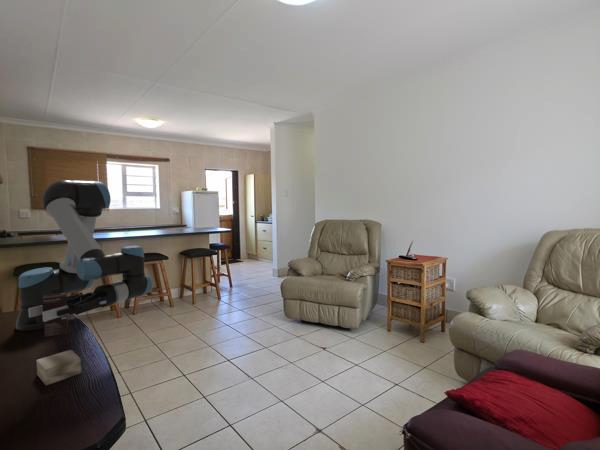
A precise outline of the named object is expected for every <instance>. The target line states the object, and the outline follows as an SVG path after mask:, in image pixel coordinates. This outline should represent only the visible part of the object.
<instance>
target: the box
mask: <svg viewBox="0 0 600 450" xmlns="http://www.w3.org/2000/svg"><path fill="white" fill-rule="evenodd" d="M67 296H68V294H67V293H66V292H65V293H56V294H49V295H43V298H42V308H43V312H44V311H48V310H52V309H55V308H59V307H62V306H66V305H67ZM68 316H69V314H68V315H65V316H61V317H58V318H55V319H52V320H48V321H45V322H44V321H43V325H44V329H43V337H44V338H47V337H51V336H53V337H54V336H57V335H65V334H68V332H69V321H68V320H69V319H68Z"/></svg>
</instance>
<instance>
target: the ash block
mask: <svg viewBox="0 0 600 450" xmlns="http://www.w3.org/2000/svg"><path fill="white" fill-rule="evenodd" d="M81 360H82V359H81V357H79V356H78V355H77V354H76V353H75V352H74V351H73V350H72V349H67V350H64V351H62V352H58V353H55V354H52V355H49V356H45V357H41V358H39V359H36V375H37V376H38V377H39V379H40V380H41V381H42V382H43V384H44V385H45V386H48V385H51V384H54V383H57V382H60V381H62V380H65V379H68V378H71V377H74V376H76V375H77V376H78V375H79V374H81V373H82V362H81Z"/></svg>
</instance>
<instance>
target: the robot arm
mask: <svg viewBox="0 0 600 450" xmlns="http://www.w3.org/2000/svg"><path fill="white" fill-rule="evenodd" d="M109 190H110V189H108V187H107V185H106V184H105V183H104V182H103V181H102V182H101V181H96V180H95V181H94V180H72V179H71V180H68V179H62V180H58V181H54V182H53V183H51V184H50V185H48V186H47V188H46V189H45V190H44V191H43V193H42V194H43V195H42V199H41V200H42V201H41V202H42V203H41V204H42V207H43V210H44V211H45V213H46V215H48V216H49V217H51V218H53V220H54V221H55V223H56V224H57V226H58V228H59V230H60V231H61V233H62V234H63V236H64V238H65V239H66V242H67V246H66V252H65V257H64V260H62V261H61V262H60V263H59V268H58V269H53V267H51V266H50V267H49V266H48V267H47V266H44V267H40V268H34V269H31V270H27V271H24V272H23V273H21V274H20V275H19V276H18V284H17V285H18V287H17V288H18V293H19V294H18V295H19V306H20V310H19V312H18V316H17V319H16V322H15V329H16V330H17V331H20V332H31V331H37V330H38V331H39V330H44V325H43V321H44V322H45V321H48V320H52V319H55V318H58V317H61V316H65V315H68V316H69V315H73V314H75V315H80V314H83V313H85V312H89V311H92V310H94V309H97V308H107V307H109V306H112V305H115V304H117V305H118V304H120V303H121V302H124V301H128V300H132V299H134V298H138V297H142V296H144V295H146V294H148V293H150V292H151V291H152V289H153V281H152V279H151V277H150V276H149V275H147V274H145V273H146V272H145V253H144V247H143V246H141V245H126V246H122V247H121V250H120V252H119V253H118V252H117V253H111V254H105V253H104V251H103V250H102V248H101V247H100V245H99V244H98V242H97V241H96V239H95V237H94V231H95V227H96V223H97V218H98V217H101V215H102V213H103V210H105V209H107V208H109V207H110V205H111V193H110V191H109ZM118 275H121V276H122V279H121V280H117V281H113V282H110V283H109V282H108V283H106V284H102V285H98V286H96V287H95V289H94V290H93V292H85V293H84V294H83V291H85V290H89V288H91V287H92V285H93V284H94V282H95V280H98V279H102V278H106V277H111V276H118ZM65 292H66V293H67V305H66V306H62V307H59V308H55V309H52V310H48V311H44V312H43V308H42V298H43V295H49V294H56V293H65ZM73 293H76V294H73ZM68 294H69V295H68ZM70 294H72V295H70Z"/></svg>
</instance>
